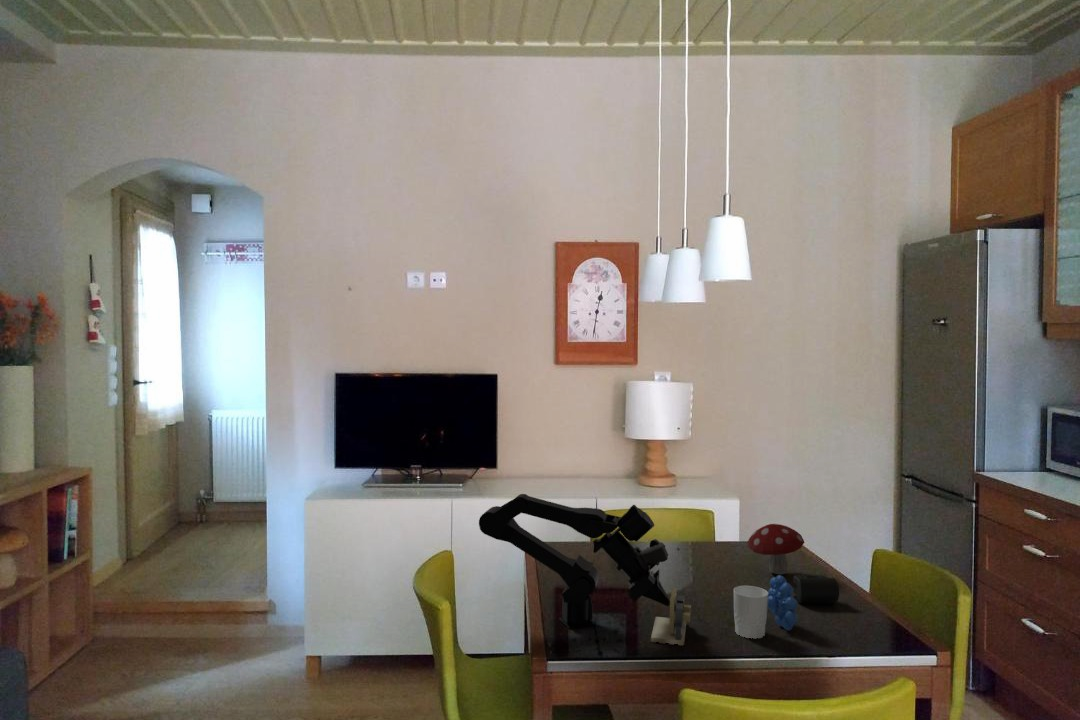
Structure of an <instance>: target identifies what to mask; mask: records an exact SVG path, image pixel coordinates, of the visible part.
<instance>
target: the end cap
mask: <svg viewBox="0 0 1080 720" xmlns="http://www.w3.org/2000/svg"><path fill="white" fill-rule="evenodd" d="M792 583H793V584H795V585H796V586H792V588H793V594H794V595H793V596H792V597H793V598H794V599H795V600H796V601H797V602H798V604H811V605H812V604H817V605H819V604H821V605H822V604H825V605H827V604H829V605H830V604H832V605H833V604H835V603H836V602H838V600H839V599H840V598H839V597H840V586H839V584H838V581H837V580H836V578H835V577H827V576H826V575H824V574H822V575H820V574H816V575H815V576H814V577H808V576H807V575H804V574H802V575H801V574H800V575H799V574H796V575H793V576H792Z"/></svg>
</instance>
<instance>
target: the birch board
mask: <svg viewBox="0 0 1080 720" xmlns="http://www.w3.org/2000/svg"><path fill="white" fill-rule="evenodd" d="M669 622H670V617H662V616H655V618H654V623H653V628H652V632H651V635H650V636H651V637H650V642H651V643H656V642H659V644H665V643H669V644H668V645H674V644H678V645H677V646H683V645H684V646H685V638H686V629H687V628H686V627H687V622H684V625H683V635H682V637H681V640H675V636H674V634H669Z"/></svg>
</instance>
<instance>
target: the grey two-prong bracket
mask: <svg viewBox="0 0 1080 720" xmlns="http://www.w3.org/2000/svg"><path fill="white" fill-rule="evenodd" d="M684 605H685V595H676V613H675V628H674V636H675V640H681V637H682V635H683V625H684V622H683V612H684Z"/></svg>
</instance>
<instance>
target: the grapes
mask: <svg viewBox="0 0 1080 720" xmlns="http://www.w3.org/2000/svg"><path fill="white" fill-rule="evenodd" d="M768 586H770V588H768V591H767V592H768V607H767V608H769V609H768V610H770V612H772V614H773V615H775V617H774V621H775V622H776V624H777V625H778V626H779V627H782V628H783V629H784V630H786V631H791V630H792V629H793V627H794V625H795V624H796V623H797V621H798V620H799V619H798V618H799V616H798V614H797V613H796V612H795V611H796V610H797V607H798V604H799V603H798V602H797V601H796V600H795V599H794V598H793V596H792V595H793V594H794V592H793V586H792V585H791V584H790V583H789V582H788V581H787V579H786V578H785V577H784V576H783V575H782V574H777V575H776V576H773V577H771V579H770V580H769V585H768Z"/></svg>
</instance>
